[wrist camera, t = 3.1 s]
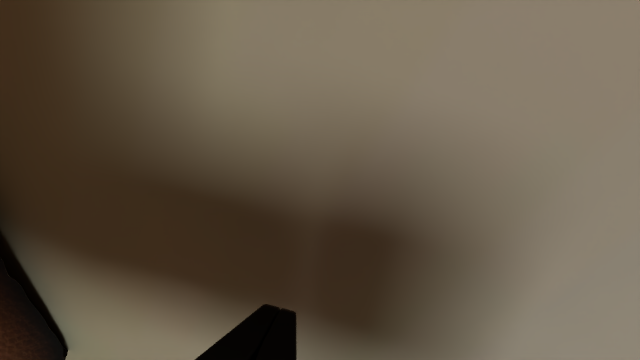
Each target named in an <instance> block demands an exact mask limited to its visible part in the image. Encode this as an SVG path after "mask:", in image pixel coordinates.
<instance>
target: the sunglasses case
mask: <svg viewBox="0 0 640 360" xmlns="http://www.w3.org/2000/svg"><path fill="white" fill-rule="evenodd" d="M67 352H68V350H66V349H64V348H63V345H62V344H60V342H59V340H58V338H57V336H56V335H55V334H54V333H53V332H52V331H51V330H50V329H49V327H48V325H47V323H46V321H45V319H44V318H43V317H42V315H41V314H40V313H39V311H38V310H37V309H36V308H35V306H34V305H33V304H32V303H31V302H30V300H29V299H28V297H27V295H26V293H25V292H24V290H23V288H22V286H21V285H20V284H19V283H18V282H17V281H16V280H14V279H13V278H11V277H9V276H8V273H7V270H6V268H5V265H4V262H3V260H2V259H1V258H0V360H65V359H66V356H67Z"/></svg>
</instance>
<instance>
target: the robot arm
mask: <svg viewBox="0 0 640 360" xmlns="http://www.w3.org/2000/svg"><path fill="white" fill-rule="evenodd" d="M195 360H296V312H294V311H291V310H287V309H283V308H282V309H280V308H279V307H276V306H272V305H269V304H264V305H262V306H261V307H260V308H259V309H257V310H256V311H255V312H254V313H252V314H251V315H250V316H249V317H247V318H246V319H245V320H244V321H242V322H241V323H240V324H239V325H237V326H236V327H235V328H234V329H232V330H231V331H230V332H229V333H227V334H226V335H225V336H224V337H222V338H221V339H220V340H219V341H217V342H216V343H215V344H214V345H213V346H211V347H210V348H209V349H208V350H206V351H205V352H204V353H203V354H201V355H200V356H199V357H198V358H196V359H195Z"/></svg>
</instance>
